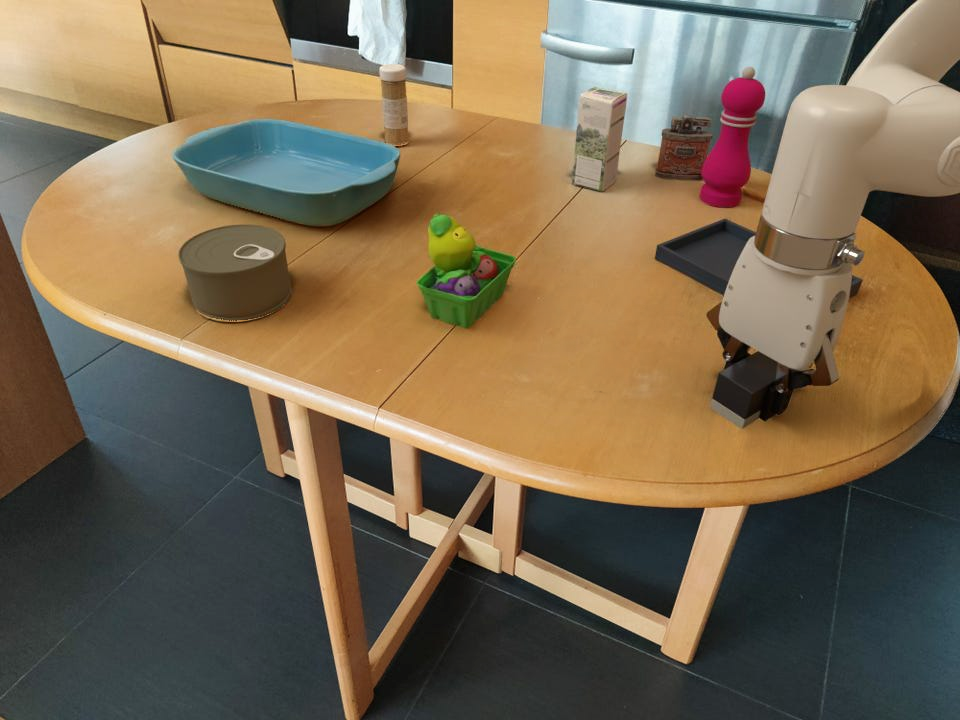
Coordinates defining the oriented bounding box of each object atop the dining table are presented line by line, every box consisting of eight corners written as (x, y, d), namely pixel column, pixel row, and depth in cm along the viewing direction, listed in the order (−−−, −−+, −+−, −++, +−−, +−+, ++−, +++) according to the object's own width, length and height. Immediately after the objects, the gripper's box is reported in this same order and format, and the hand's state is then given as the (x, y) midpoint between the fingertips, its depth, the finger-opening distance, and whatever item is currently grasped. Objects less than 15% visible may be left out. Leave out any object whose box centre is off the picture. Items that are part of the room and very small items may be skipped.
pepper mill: (688, 191, 115) (714, 60, 103) (730, 189, 116) (761, 59, 104) (708, 210, 109) (738, 74, 97) (751, 207, 110) (786, 72, 98)
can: (234, 265, 94) (223, 217, 90) (312, 284, 90) (305, 234, 86) (169, 310, 85) (154, 259, 81) (253, 333, 81) (242, 281, 77)
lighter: (655, 178, 119) (665, 118, 113) (654, 170, 122) (664, 111, 116) (704, 181, 118) (717, 121, 112) (702, 173, 121) (714, 114, 115)
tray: (857, 294, 90) (863, 279, 89) (791, 330, 83) (795, 315, 82) (721, 231, 104) (724, 218, 102) (654, 258, 97) (656, 244, 95)
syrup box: (617, 181, 118) (629, 91, 109) (601, 193, 114) (613, 100, 105) (586, 173, 120) (595, 85, 112) (569, 185, 116) (578, 94, 108)
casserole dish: (154, 193, 111) (141, 149, 107) (255, 149, 127) (248, 109, 123) (341, 251, 97) (336, 202, 93) (430, 193, 113) (428, 149, 108)
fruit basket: (472, 338, 81) (472, 249, 74) (406, 317, 84) (401, 230, 78) (517, 293, 89) (521, 209, 82) (455, 275, 92) (455, 193, 86)
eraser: (790, 398, 73) (803, 363, 70) (741, 429, 69) (753, 393, 67) (757, 379, 76) (768, 344, 73) (709, 407, 72) (718, 372, 69)
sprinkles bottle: (397, 137, 133) (393, 61, 125) (414, 143, 131) (411, 66, 123) (379, 143, 130) (373, 66, 122) (396, 149, 128) (391, 71, 120)
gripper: (919, 266, 58) (847, 433, 69) (747, 196, 69) (708, 350, 80) (869, 294, 54) (801, 465, 65) (696, 215, 65) (662, 374, 76)
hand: (751, 400), depth 72 cm, fingers closed on eraser, 4 cm apart
